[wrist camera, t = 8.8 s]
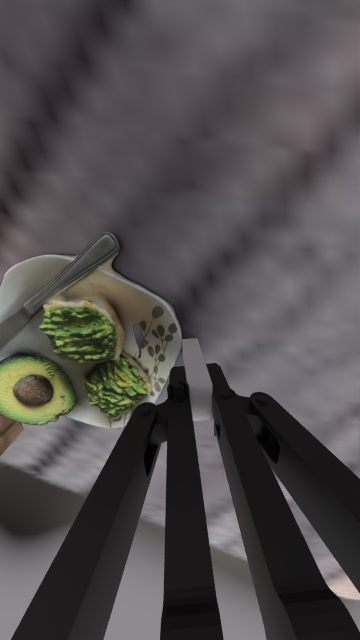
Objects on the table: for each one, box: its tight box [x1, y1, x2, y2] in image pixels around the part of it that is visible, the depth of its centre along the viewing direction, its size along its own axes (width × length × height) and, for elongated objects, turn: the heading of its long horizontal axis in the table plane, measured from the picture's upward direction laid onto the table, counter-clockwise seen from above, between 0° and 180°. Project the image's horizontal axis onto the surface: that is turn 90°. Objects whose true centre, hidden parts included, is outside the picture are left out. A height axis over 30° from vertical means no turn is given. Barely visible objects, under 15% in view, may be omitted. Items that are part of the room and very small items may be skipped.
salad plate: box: [0, 232, 182, 429], centre depth 16 cm, size 19×18×5 cm
